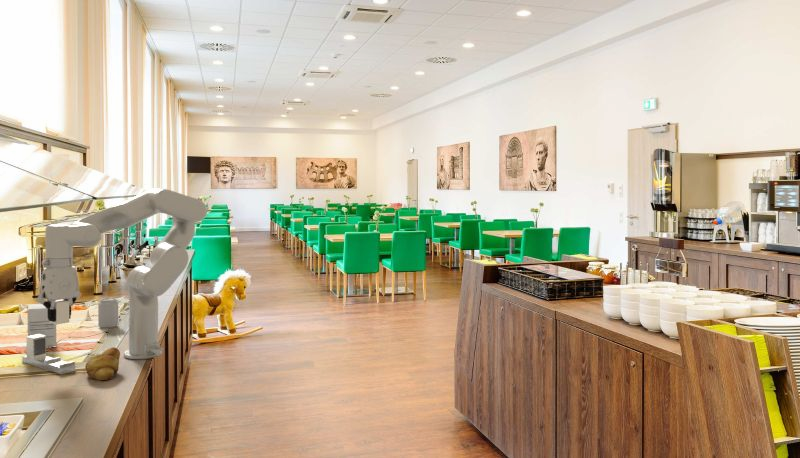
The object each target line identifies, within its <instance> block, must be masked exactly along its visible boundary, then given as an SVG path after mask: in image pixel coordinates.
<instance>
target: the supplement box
mask: <svg viewBox="0 0 800 458" xmlns="http://www.w3.org/2000/svg"><path fill="white" fill-rule="evenodd" d="M36 334H41V335H45V336H46V349H48V348H47V347H53V346H56V347H57V325H56V324H52V323H50V321H49V320H48V309H47V308H46V307H45V306H44V305H42V304H41V303H34V304H28V306H27V336H31V335H36Z"/></svg>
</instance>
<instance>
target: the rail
mask: <svg viewBox="0 0 800 458" xmlns="http://www.w3.org/2000/svg"><path fill="white" fill-rule="evenodd" d="M46 349H47V348H46V336H45V335H41V334H36V335H31V336H28V335H26V355H22V363H24V364H28V365H30V366H34V367H37V368H40V369H43V370H46V371H49V372H53V373H56V374H59V375H64V374H68V373H71V372H75V371H76V361H74V360H73V361H64V360H62V359H61V358H62V357H61V356H58V357H51V356H49V355H48V356H47V351H46Z"/></svg>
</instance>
